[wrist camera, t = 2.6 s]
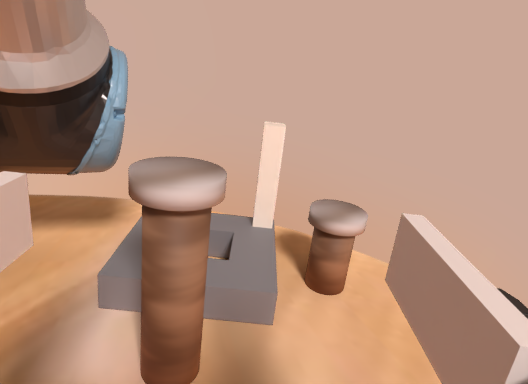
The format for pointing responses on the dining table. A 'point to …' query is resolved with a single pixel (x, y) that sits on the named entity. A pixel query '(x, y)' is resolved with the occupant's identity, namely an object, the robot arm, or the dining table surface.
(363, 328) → the dining table surface
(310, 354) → the dining table surface
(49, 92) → the robot arm
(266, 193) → the hole block
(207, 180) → the long pin
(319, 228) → the short pin
